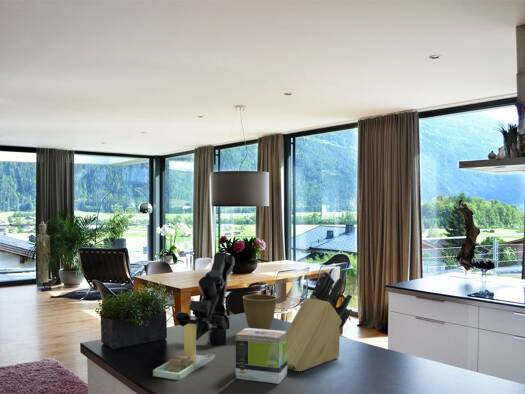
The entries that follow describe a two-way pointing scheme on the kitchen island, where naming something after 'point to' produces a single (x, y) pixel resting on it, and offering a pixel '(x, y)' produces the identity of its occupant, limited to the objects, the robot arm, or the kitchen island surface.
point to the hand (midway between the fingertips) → (192, 341)
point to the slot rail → (202, 360)
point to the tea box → (261, 355)
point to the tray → (164, 372)
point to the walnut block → (177, 364)
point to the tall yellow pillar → (190, 340)
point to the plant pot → (259, 310)
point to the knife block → (317, 326)
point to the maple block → (188, 358)
